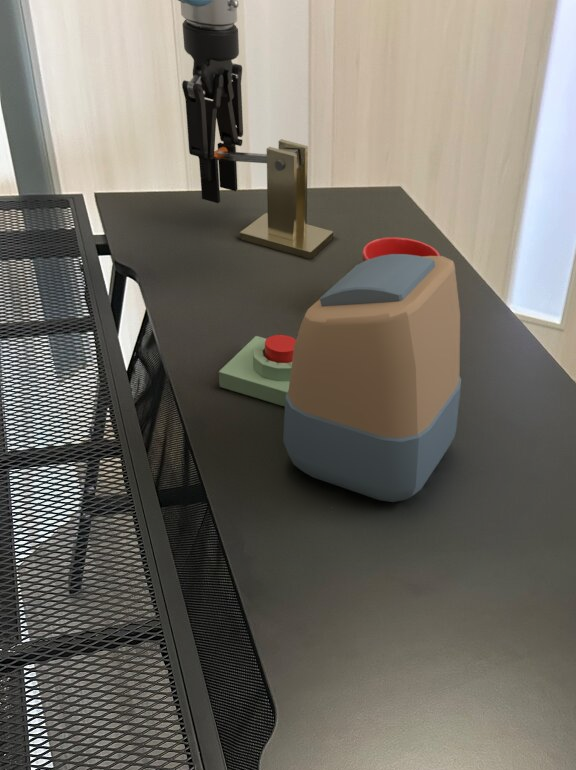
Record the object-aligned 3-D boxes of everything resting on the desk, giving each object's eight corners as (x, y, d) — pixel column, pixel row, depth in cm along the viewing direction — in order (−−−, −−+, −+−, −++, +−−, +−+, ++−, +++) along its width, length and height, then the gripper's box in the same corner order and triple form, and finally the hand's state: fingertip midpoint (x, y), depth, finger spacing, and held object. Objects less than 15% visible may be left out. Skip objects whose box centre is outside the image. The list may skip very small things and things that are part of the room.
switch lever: (206, 168, 130) (203, 151, 128) (222, 158, 133) (219, 142, 132) (290, 174, 127) (287, 156, 125) (304, 164, 130) (301, 147, 128)
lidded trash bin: (336, 403, 106) (345, 215, 90) (461, 444, 104) (493, 259, 87) (271, 476, 95) (267, 275, 78) (410, 524, 92) (436, 327, 76)
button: (259, 358, 104) (259, 345, 103) (273, 344, 107) (273, 331, 106) (289, 367, 104) (289, 354, 103) (303, 352, 107) (303, 340, 105)
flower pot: (343, 309, 123) (347, 242, 116) (405, 295, 129) (412, 231, 122) (384, 344, 118) (390, 276, 111) (447, 328, 123) (456, 263, 116)
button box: (219, 387, 105) (217, 358, 102) (256, 350, 112) (255, 322, 109) (309, 414, 104) (309, 385, 101) (340, 375, 111) (342, 348, 108)
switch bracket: (240, 239, 134) (236, 145, 124) (265, 220, 140) (264, 129, 130) (310, 259, 133) (312, 166, 123) (333, 238, 139) (336, 148, 129)
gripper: (202, 41, 112) (213, 220, 128) (264, 16, 124) (267, 182, 141) (150, 28, 112) (168, 207, 129) (217, 4, 125) (225, 171, 142)
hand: (220, 194), depth 135 cm, fingers closed on switch lever, 5 cm apart
